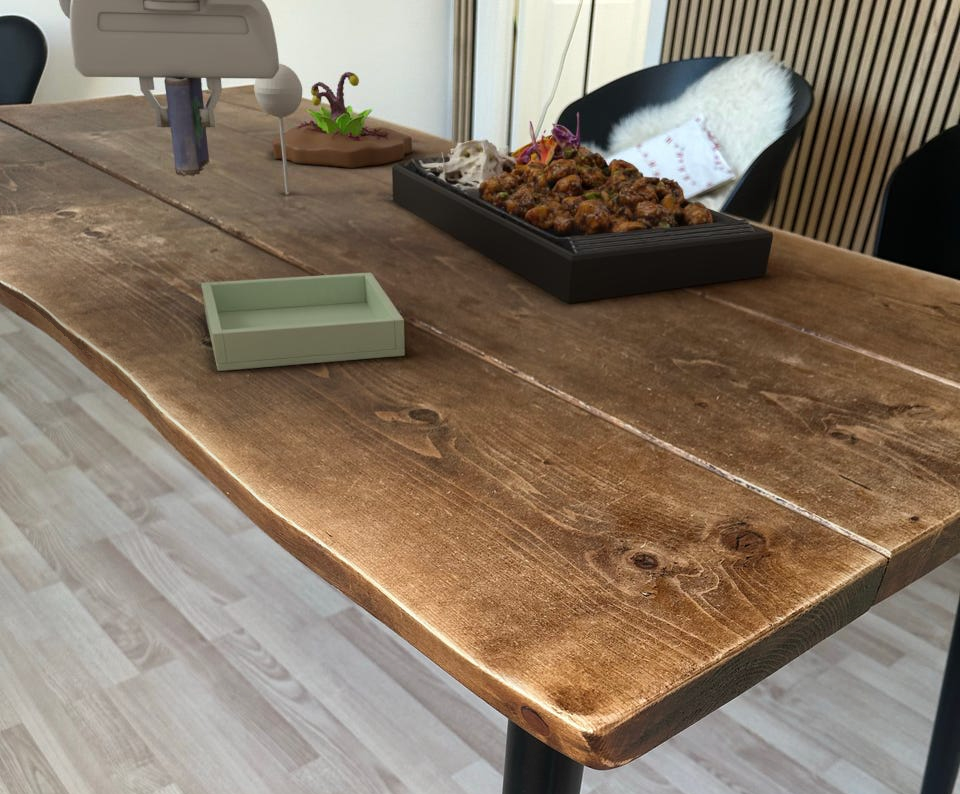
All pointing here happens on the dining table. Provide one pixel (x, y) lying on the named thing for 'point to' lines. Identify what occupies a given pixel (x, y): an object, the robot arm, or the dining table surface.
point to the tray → (301, 321)
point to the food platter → (578, 219)
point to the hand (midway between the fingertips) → (186, 126)
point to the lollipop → (280, 101)
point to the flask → (186, 124)
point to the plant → (340, 135)
